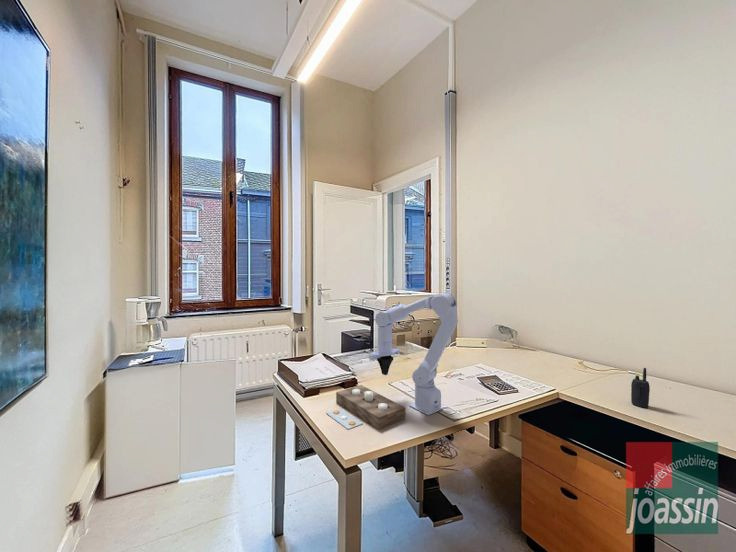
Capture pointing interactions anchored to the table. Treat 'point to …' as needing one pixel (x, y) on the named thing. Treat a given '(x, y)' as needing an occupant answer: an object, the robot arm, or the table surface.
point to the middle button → (368, 396)
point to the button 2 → (382, 406)
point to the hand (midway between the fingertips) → (384, 374)
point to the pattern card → (344, 418)
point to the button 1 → (355, 391)
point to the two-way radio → (640, 391)
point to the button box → (371, 407)
